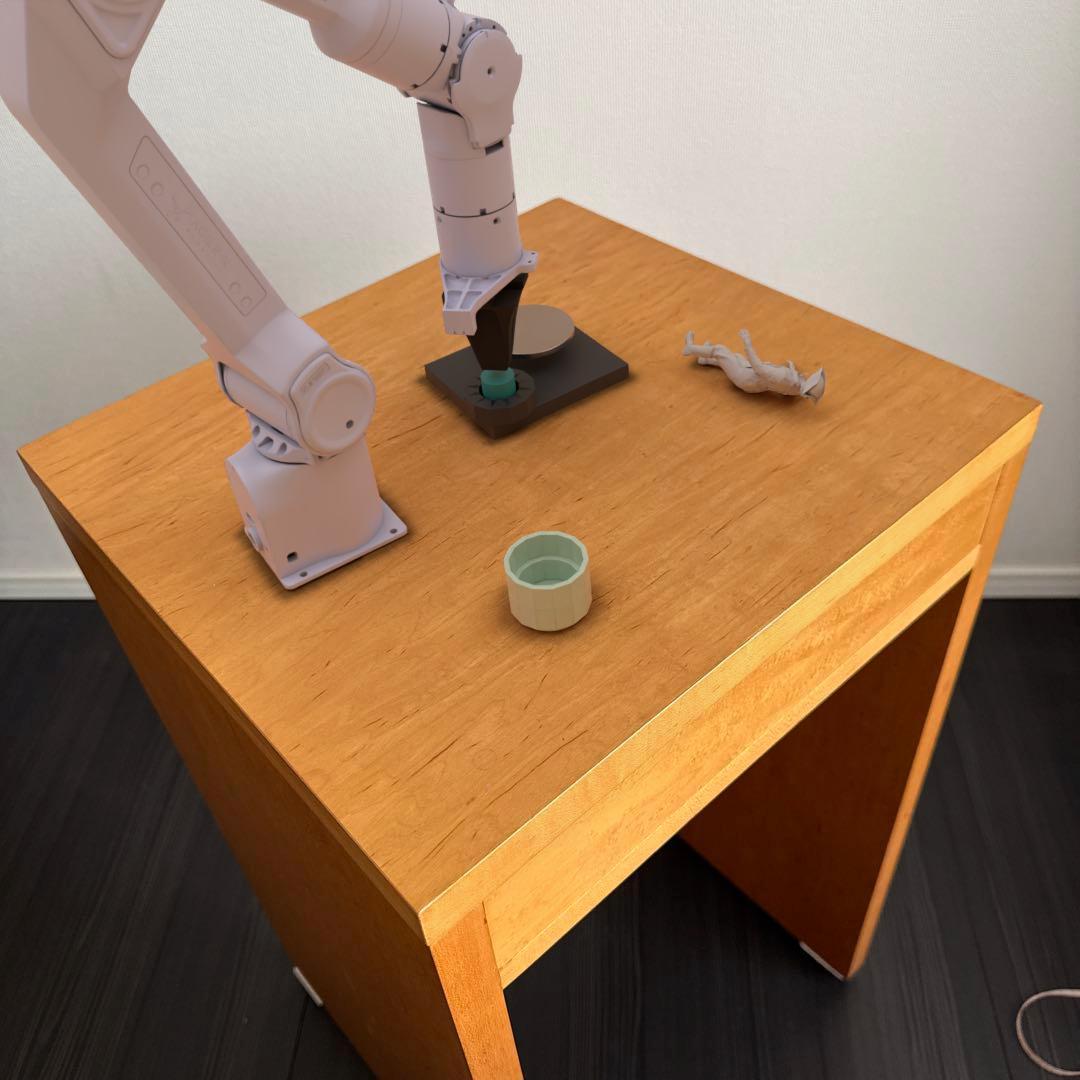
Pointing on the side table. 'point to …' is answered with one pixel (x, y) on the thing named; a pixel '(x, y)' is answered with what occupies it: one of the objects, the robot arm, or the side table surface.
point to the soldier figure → (756, 370)
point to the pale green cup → (548, 580)
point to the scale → (528, 383)
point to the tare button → (498, 384)
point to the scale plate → (541, 331)
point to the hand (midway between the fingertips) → (496, 365)
